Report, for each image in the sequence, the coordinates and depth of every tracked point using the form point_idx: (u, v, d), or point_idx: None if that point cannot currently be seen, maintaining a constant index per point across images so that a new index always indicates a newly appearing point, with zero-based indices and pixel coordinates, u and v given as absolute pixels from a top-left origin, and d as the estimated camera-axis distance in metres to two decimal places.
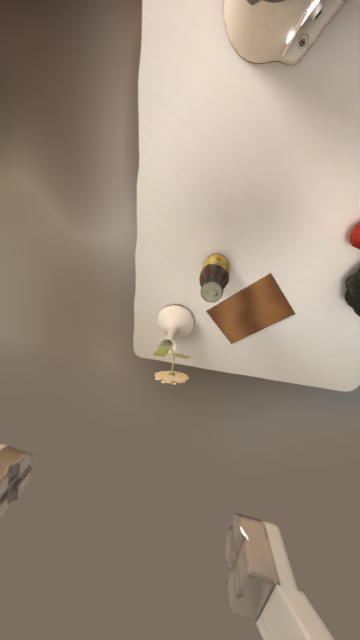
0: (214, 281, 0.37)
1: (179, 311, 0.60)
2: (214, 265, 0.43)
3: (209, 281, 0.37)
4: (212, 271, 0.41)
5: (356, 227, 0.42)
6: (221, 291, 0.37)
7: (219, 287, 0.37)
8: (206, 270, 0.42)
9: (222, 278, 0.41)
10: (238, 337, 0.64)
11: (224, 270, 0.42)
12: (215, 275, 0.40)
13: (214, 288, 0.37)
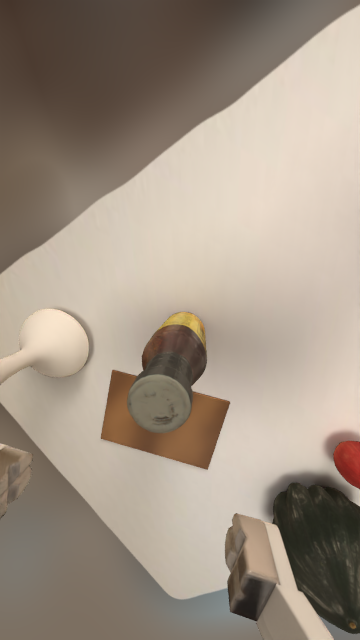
0: (188, 388, 0.13)
1: (74, 337, 0.31)
2: (197, 340, 0.20)
3: (178, 378, 0.12)
4: (188, 348, 0.18)
5: (357, 446, 0.29)
6: (180, 423, 0.13)
7: (185, 413, 0.12)
8: (181, 336, 0.18)
9: (194, 379, 0.17)
10: (118, 438, 0.37)
11: (204, 364, 0.19)
12: (190, 364, 0.16)
13: (173, 404, 0.12)
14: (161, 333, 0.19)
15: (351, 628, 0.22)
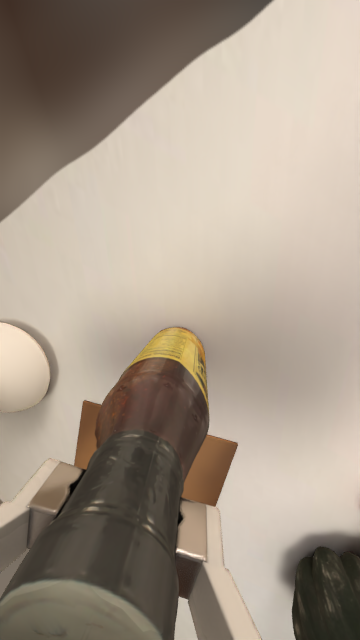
0: (163, 600, 0.04)
1: (26, 361, 0.22)
2: (194, 389, 0.11)
3: (135, 574, 0.04)
4: (176, 414, 0.10)
5: None
6: None
7: None
8: (163, 391, 0.10)
9: (186, 475, 0.09)
10: None
11: (206, 430, 0.11)
12: (178, 456, 0.08)
13: None
14: (129, 380, 0.11)
15: None
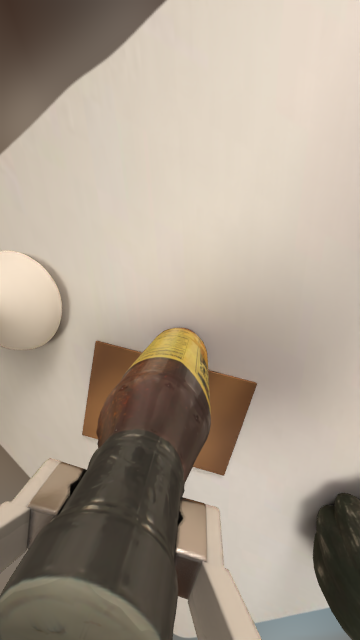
0: (161, 600, 0.04)
1: (39, 288, 0.21)
2: (195, 389, 0.11)
3: (133, 573, 0.04)
4: (178, 414, 0.10)
5: None
6: None
7: None
8: (164, 391, 0.10)
9: (187, 475, 0.09)
10: None
11: (207, 431, 0.11)
12: (179, 456, 0.08)
13: None
14: (131, 380, 0.11)
15: None
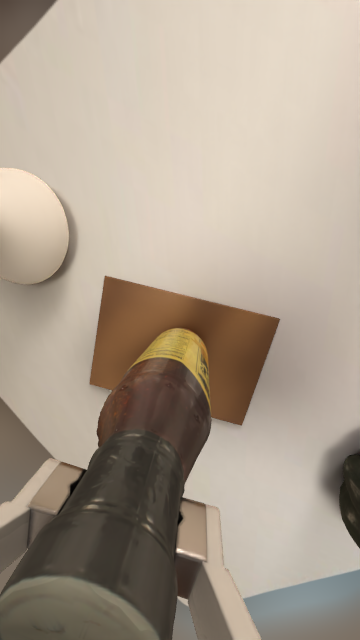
0: (160, 600, 0.04)
1: (44, 206, 0.20)
2: (196, 389, 0.11)
3: (133, 573, 0.04)
4: (178, 414, 0.09)
5: None
6: None
7: None
8: (165, 391, 0.10)
9: (187, 475, 0.09)
10: (114, 382, 0.26)
11: (207, 431, 0.11)
12: (179, 456, 0.08)
13: None
14: (131, 380, 0.11)
15: None
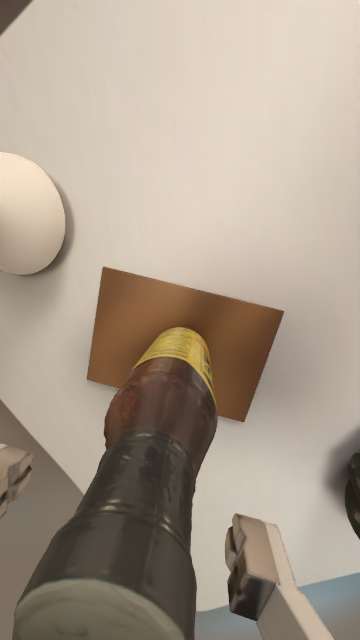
0: (183, 600, 0.04)
1: (39, 191, 0.19)
2: (202, 388, 0.11)
3: (155, 574, 0.04)
4: (186, 413, 0.09)
5: None
6: None
7: None
8: (173, 390, 0.10)
9: (197, 474, 0.09)
10: (112, 378, 0.25)
11: (214, 430, 0.11)
12: (190, 455, 0.08)
13: None
14: (138, 380, 0.11)
15: None
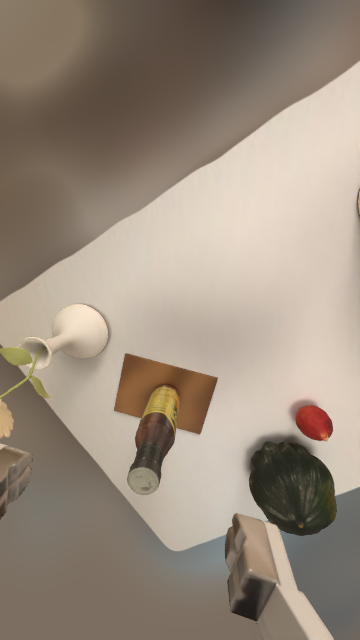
0: (157, 472, 0.25)
1: (98, 326, 0.40)
2: (169, 426, 0.32)
3: (153, 467, 0.25)
4: (162, 436, 0.30)
5: (311, 408, 0.39)
6: (154, 490, 0.25)
7: (156, 485, 0.25)
8: (158, 428, 0.31)
9: (165, 454, 0.30)
10: (128, 410, 0.46)
11: (173, 440, 0.32)
12: (162, 448, 0.29)
13: (150, 481, 0.25)
14: (147, 424, 0.31)
15: (300, 528, 0.32)
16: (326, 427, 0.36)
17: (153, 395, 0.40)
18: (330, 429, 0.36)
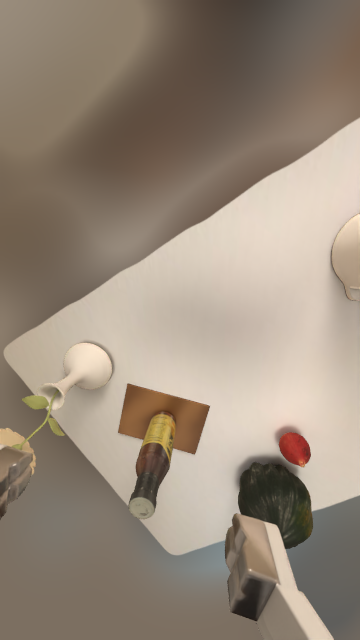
0: (153, 501, 0.31)
1: (103, 362, 0.45)
2: (164, 455, 0.38)
3: (149, 497, 0.31)
4: (158, 465, 0.36)
5: (292, 435, 0.44)
6: (150, 515, 0.31)
7: (152, 512, 0.31)
8: (155, 459, 0.36)
9: (160, 482, 0.35)
10: (130, 432, 0.52)
11: (168, 468, 0.38)
12: (158, 478, 0.35)
13: (147, 508, 0.31)
14: (145, 454, 0.37)
15: None
16: (303, 454, 0.41)
17: (152, 423, 0.46)
18: (307, 456, 0.41)
